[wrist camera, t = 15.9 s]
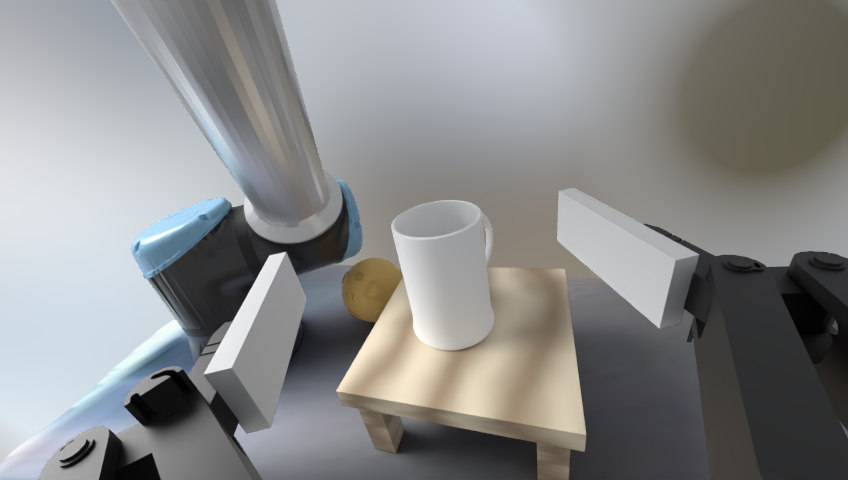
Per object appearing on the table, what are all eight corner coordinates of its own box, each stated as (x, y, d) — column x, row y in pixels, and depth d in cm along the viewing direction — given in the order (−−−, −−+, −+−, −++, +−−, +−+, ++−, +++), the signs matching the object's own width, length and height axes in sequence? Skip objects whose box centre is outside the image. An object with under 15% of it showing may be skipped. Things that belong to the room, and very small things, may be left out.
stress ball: (392, 295, 58) (341, 273, 55) (419, 261, 52) (363, 235, 50) (384, 343, 50) (323, 320, 47) (414, 309, 45) (347, 281, 42)
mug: (473, 273, 41) (462, 183, 35) (531, 300, 34) (528, 196, 29) (398, 322, 35) (370, 224, 29) (450, 367, 29) (428, 251, 23)
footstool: (364, 454, 33) (335, 391, 28) (421, 320, 49) (409, 265, 45) (579, 507, 26) (586, 434, 22) (562, 331, 43) (564, 268, 38)
